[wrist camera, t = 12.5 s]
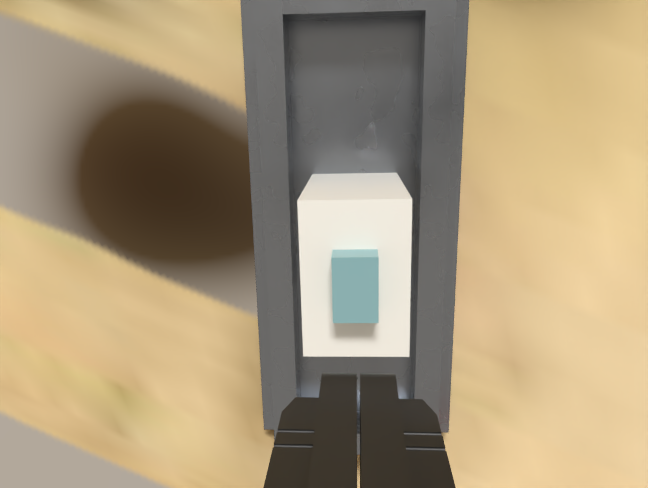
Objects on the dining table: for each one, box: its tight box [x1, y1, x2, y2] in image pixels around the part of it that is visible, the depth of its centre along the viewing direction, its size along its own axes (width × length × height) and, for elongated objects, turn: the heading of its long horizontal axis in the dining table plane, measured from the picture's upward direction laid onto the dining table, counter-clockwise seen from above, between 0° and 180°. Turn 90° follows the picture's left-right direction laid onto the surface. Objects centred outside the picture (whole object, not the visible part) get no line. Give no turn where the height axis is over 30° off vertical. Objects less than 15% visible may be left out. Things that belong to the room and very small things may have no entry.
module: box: [297, 173, 412, 357], centre depth 22 cm, size 6×4×8 cm, turn 1°
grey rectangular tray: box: [241, 0, 469, 455], centre depth 26 cm, size 22×10×3 cm, turn 1°
